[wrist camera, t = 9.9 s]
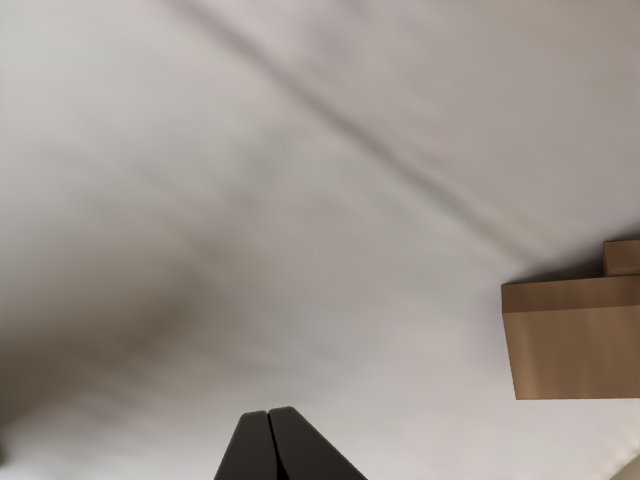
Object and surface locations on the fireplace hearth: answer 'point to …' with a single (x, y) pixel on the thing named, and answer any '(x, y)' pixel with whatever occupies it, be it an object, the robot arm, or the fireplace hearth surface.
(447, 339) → the fireplace hearth surface
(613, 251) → the domino
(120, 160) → the fireplace hearth surface
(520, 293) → the domino
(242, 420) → the robot arm
